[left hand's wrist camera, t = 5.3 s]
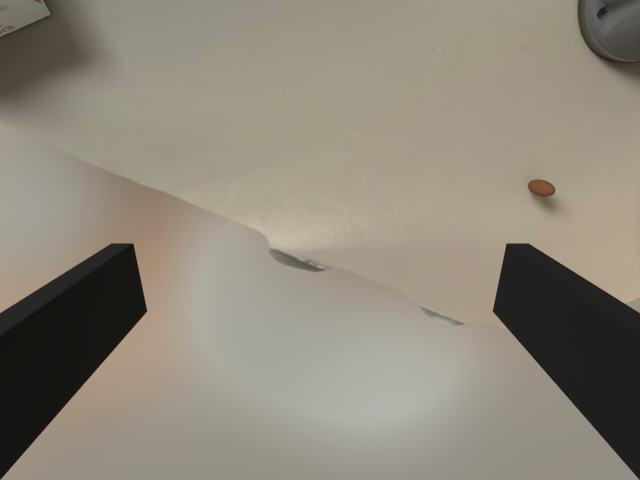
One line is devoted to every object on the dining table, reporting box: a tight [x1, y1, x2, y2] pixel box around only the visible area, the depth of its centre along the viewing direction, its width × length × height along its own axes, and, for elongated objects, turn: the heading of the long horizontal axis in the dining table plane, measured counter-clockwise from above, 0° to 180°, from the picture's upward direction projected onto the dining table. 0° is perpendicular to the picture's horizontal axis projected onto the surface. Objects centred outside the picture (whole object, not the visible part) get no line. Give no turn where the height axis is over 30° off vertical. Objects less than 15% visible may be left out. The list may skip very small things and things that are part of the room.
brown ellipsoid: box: [528, 180, 555, 196], centre depth 46 cm, size 2×2×5 cm
